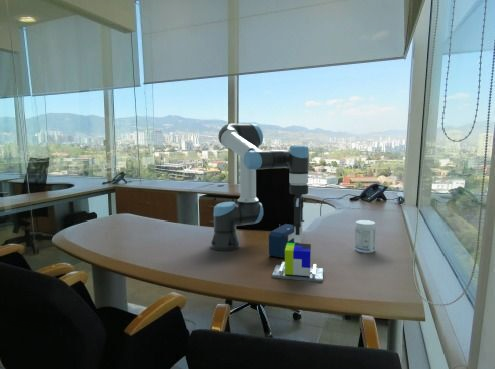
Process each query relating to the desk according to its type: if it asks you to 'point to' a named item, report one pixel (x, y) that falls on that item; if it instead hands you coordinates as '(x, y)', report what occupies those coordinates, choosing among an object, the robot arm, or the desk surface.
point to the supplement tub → (365, 236)
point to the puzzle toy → (297, 259)
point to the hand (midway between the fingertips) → (298, 239)
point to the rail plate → (315, 275)
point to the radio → (280, 240)
